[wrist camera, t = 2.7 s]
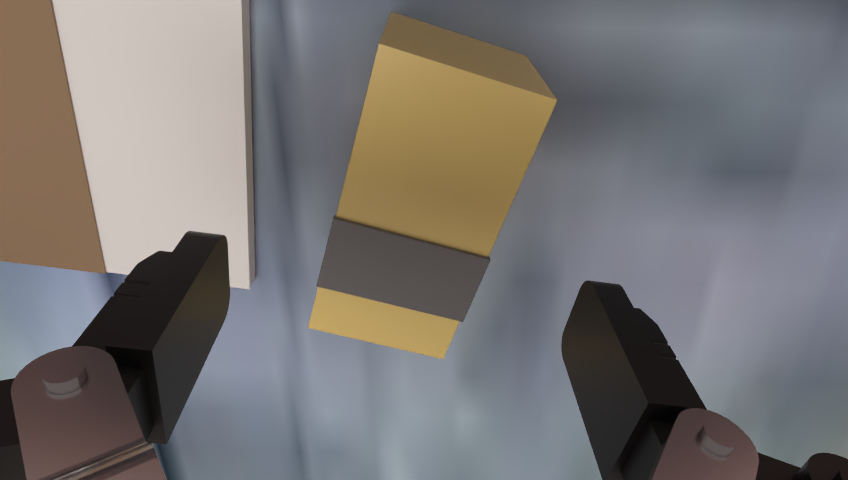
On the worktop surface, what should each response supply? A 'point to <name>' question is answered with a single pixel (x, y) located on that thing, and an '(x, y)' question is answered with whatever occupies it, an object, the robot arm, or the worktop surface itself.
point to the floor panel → (124, 131)
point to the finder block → (427, 185)
